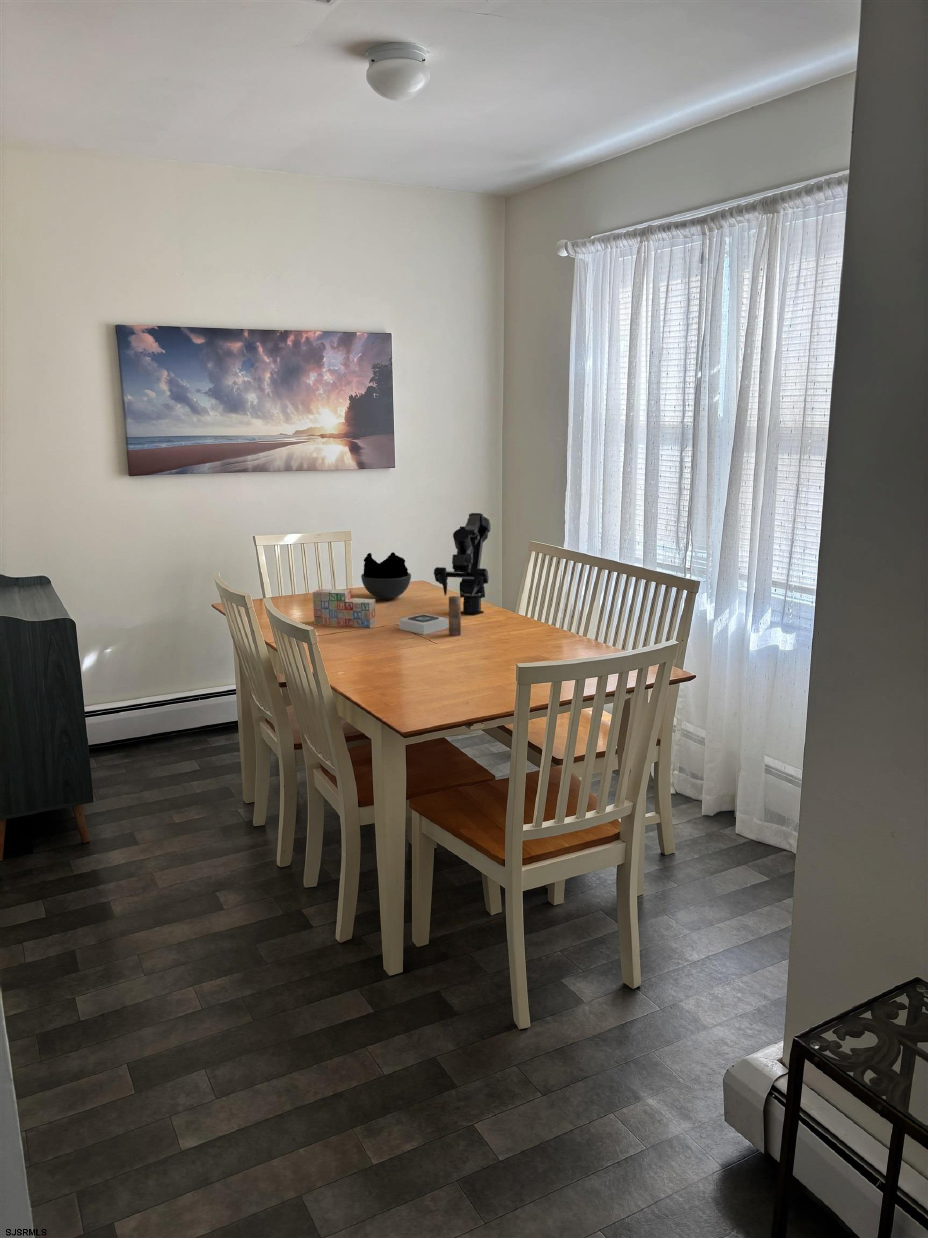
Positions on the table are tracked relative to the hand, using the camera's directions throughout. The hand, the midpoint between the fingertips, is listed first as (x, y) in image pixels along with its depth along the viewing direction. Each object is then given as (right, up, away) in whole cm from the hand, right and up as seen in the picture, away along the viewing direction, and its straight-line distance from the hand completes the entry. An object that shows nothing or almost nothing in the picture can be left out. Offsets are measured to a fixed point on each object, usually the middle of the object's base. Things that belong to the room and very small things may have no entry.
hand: (458, 595), depth 310 cm
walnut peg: (-1, -14, -3) cm, 14 cm away
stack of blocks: (-41, -10, +12) cm, 44 cm away
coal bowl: (-29, 0, +55) cm, 62 cm away
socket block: (-12, -12, +5) cm, 18 cm away
